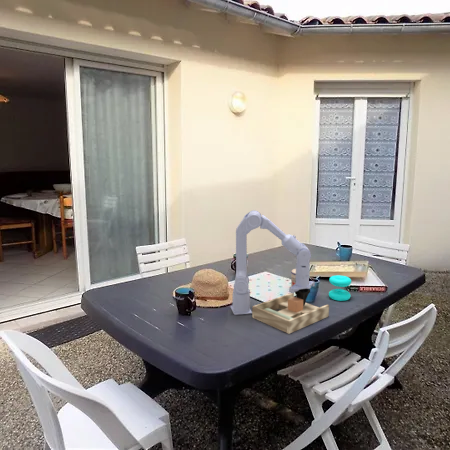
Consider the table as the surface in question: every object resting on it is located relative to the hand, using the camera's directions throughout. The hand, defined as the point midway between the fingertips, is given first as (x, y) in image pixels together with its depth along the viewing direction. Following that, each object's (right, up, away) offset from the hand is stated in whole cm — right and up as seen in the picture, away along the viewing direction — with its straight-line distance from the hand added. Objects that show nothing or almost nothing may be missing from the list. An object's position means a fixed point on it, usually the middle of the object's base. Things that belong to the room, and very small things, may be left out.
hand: (301, 305), depth 167 cm
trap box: (-5, -4, -4) cm, 8 cm away
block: (-3, -1, -2) cm, 4 cm away
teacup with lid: (+6, +2, +30) cm, 31 cm away
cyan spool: (+21, 0, +18) cm, 28 cm away
